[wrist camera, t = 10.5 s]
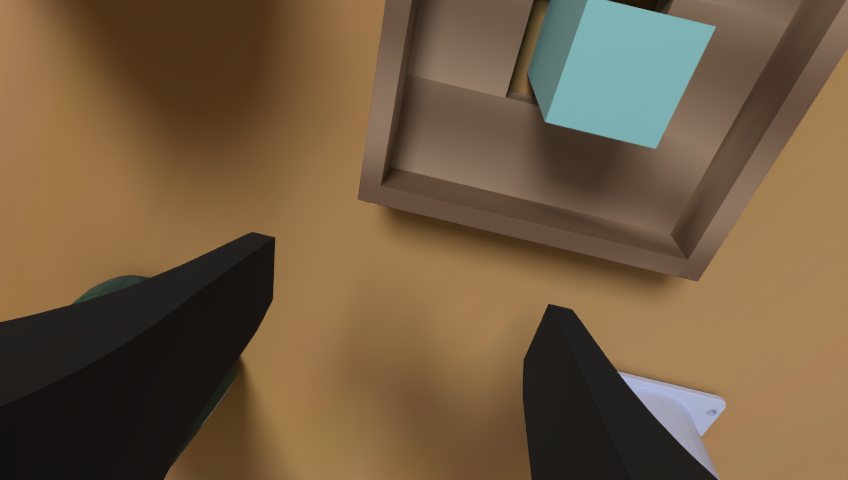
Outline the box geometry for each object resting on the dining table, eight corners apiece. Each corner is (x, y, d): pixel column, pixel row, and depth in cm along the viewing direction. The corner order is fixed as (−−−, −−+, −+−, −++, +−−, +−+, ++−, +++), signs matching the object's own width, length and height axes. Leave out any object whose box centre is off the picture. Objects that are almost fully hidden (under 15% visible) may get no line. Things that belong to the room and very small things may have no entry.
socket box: (667, 237, 21) (697, 281, 18) (376, 167, 21) (357, 199, 18) (880, -141, 14) (989, -174, 11) (442, -245, 14) (428, -306, 11)
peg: (600, 90, 18) (655, 148, 12) (527, 73, 18) (545, 121, 12) (633, 7, 16) (715, 26, 10) (553, -12, 17) (589, -4, 11)
